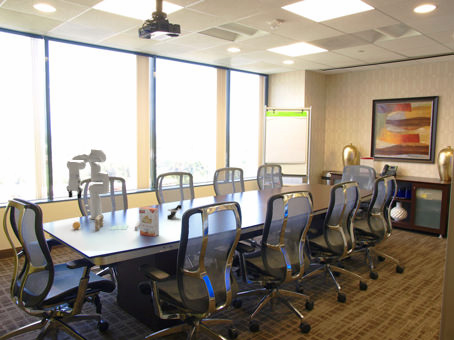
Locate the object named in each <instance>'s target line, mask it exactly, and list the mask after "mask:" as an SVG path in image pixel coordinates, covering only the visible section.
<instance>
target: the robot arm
mask: <svg viewBox="0 0 454 340" xmlns="http://www.w3.org/2000/svg"><path fill="white" fill-rule="evenodd" d="M106 160H107V155H106V153H104V151H103V150H101V149H100V148H94V147H93V148H85V150H84V151H82V152H81V154H77V155H75V156H73V157H70V158H69V159H68V160H67V163H66V168H67V169H68V185H67V186H66V190H67V193H68V198H70V199H71V198H73V192H77V199H78V200H79V199H82V193H83V191H84V187H82V181H81V178H80V170H84V169H86V166H87V163H88V164H89V166H90V180H91V182H92V184H90V185H89V186H88V192H89V197H90V198H89V199H90V201H89V202H90V216H88V218H89V219H90V220H95V218H96V217H97V216H98V215H103V213H102V212H103V211H102V197H101V196H100V195H108V193H109V191H110V174H109V173H108V172H106V171H102V170H101V169H102V168H101V165H100V163H105V162H106ZM103 218H104V215H103Z"/></svg>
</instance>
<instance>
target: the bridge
mask: <svg viewBox="0 0 454 340" xmlns="http://www.w3.org/2000/svg"><path fill="white" fill-rule="evenodd" d="M103 216H104V214H102V215H98V216H97V217H96V218H95V219H94V231H97V232H98V231H100V227H101V228H103V227H104V217H103Z"/></svg>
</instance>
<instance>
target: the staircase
mask: <svg viewBox="0 0 454 340" xmlns="http://www.w3.org/2000/svg"><path fill="white" fill-rule="evenodd" d="M182 209H183V207H182V205H181V204H178V205H177V206H176V207H174V208H171V209H170V208H169V209H167V212H170V213H169V214H168V215H167V218H166V219H167V220H172V219H174V218H176V217H177V216H176V214H177V212H179V211H182Z"/></svg>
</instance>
